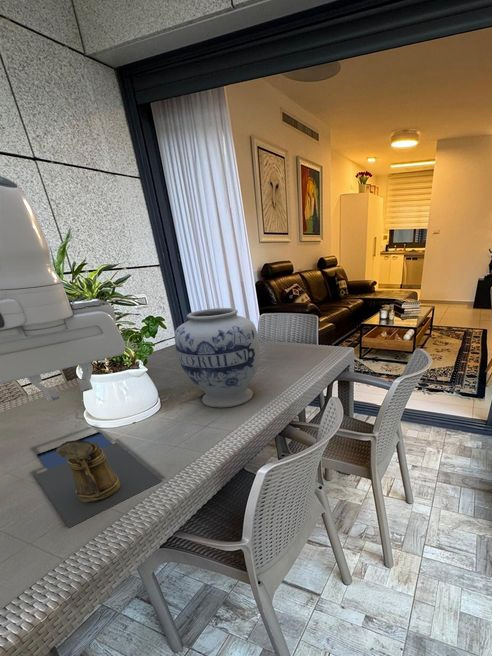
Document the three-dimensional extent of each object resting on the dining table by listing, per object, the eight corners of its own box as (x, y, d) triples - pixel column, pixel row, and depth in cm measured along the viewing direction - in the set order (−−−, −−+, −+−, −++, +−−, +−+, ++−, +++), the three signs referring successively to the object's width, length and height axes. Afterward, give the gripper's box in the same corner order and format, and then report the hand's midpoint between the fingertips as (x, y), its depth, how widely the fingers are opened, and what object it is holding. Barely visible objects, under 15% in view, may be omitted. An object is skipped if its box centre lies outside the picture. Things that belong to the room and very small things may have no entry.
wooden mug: (75, 521, 73) (38, 448, 64) (78, 485, 84) (47, 419, 75) (122, 506, 77) (93, 435, 68) (120, 474, 87) (95, 409, 78)
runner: (68, 528, 72) (68, 527, 72) (34, 475, 88) (33, 474, 88) (162, 481, 84) (162, 480, 84) (116, 442, 101) (116, 442, 101)
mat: (48, 469, 90) (47, 469, 90) (34, 451, 99) (34, 450, 99) (113, 444, 100) (112, 443, 100) (95, 429, 109) (95, 428, 109)
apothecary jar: (172, 406, 121) (148, 317, 107) (222, 379, 142) (207, 302, 128) (235, 419, 111) (218, 323, 96) (278, 388, 132) (270, 305, 117)
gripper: (102, 295, 60) (127, 372, 66) (-62, 317, 47) (-11, 410, 53) (117, 298, 56) (141, 379, 62) (-58, 323, 43) (-3, 423, 49)
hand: (70, 394), depth 58 cm, fingers open, 3 cm apart
